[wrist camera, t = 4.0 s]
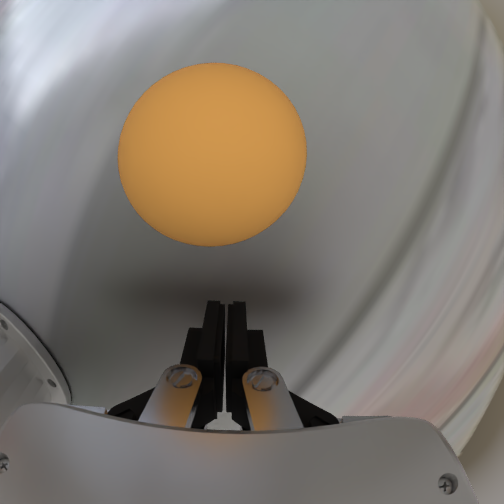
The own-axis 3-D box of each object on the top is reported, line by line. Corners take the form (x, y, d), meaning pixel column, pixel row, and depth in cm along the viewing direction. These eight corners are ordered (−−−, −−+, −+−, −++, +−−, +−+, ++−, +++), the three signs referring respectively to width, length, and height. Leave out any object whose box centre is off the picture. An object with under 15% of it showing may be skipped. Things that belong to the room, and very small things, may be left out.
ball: (153, 224, 12) (93, 277, 6) (152, 95, 10) (88, 50, 4) (284, 223, 12) (325, 277, 7) (288, 92, 10) (333, 38, 5)
